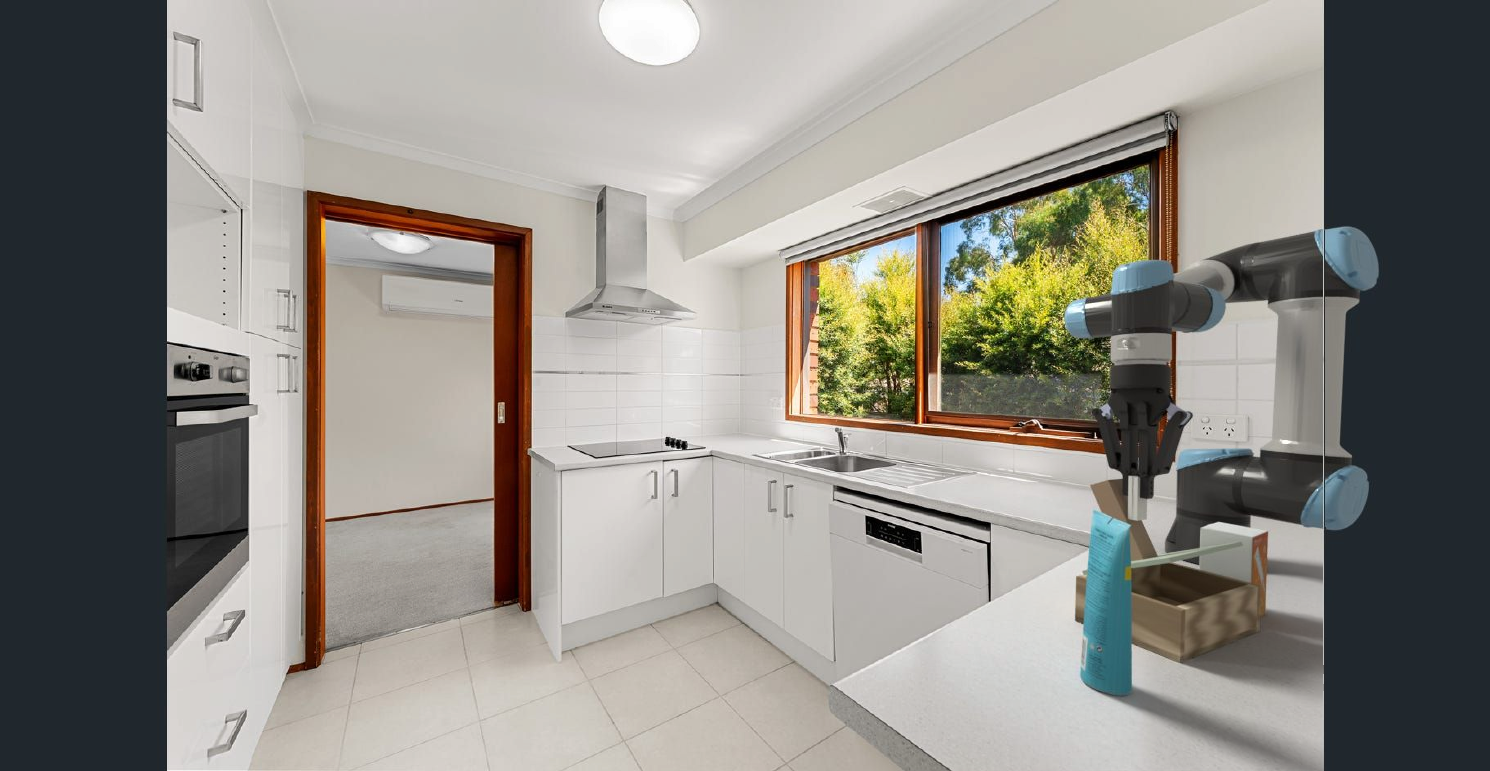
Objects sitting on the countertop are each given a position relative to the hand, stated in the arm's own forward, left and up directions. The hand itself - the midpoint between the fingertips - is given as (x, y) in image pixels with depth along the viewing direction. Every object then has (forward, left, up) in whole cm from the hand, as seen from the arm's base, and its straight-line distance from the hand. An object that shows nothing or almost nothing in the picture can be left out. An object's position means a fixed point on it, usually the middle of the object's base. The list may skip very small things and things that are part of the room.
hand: (1137, 518), depth 80 cm
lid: (0, +3, -5) cm, 6 cm away
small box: (-16, +6, -15) cm, 23 cm away
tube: (+25, +10, -15) cm, 30 cm away
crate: (0, +4, -15) cm, 15 cm away
